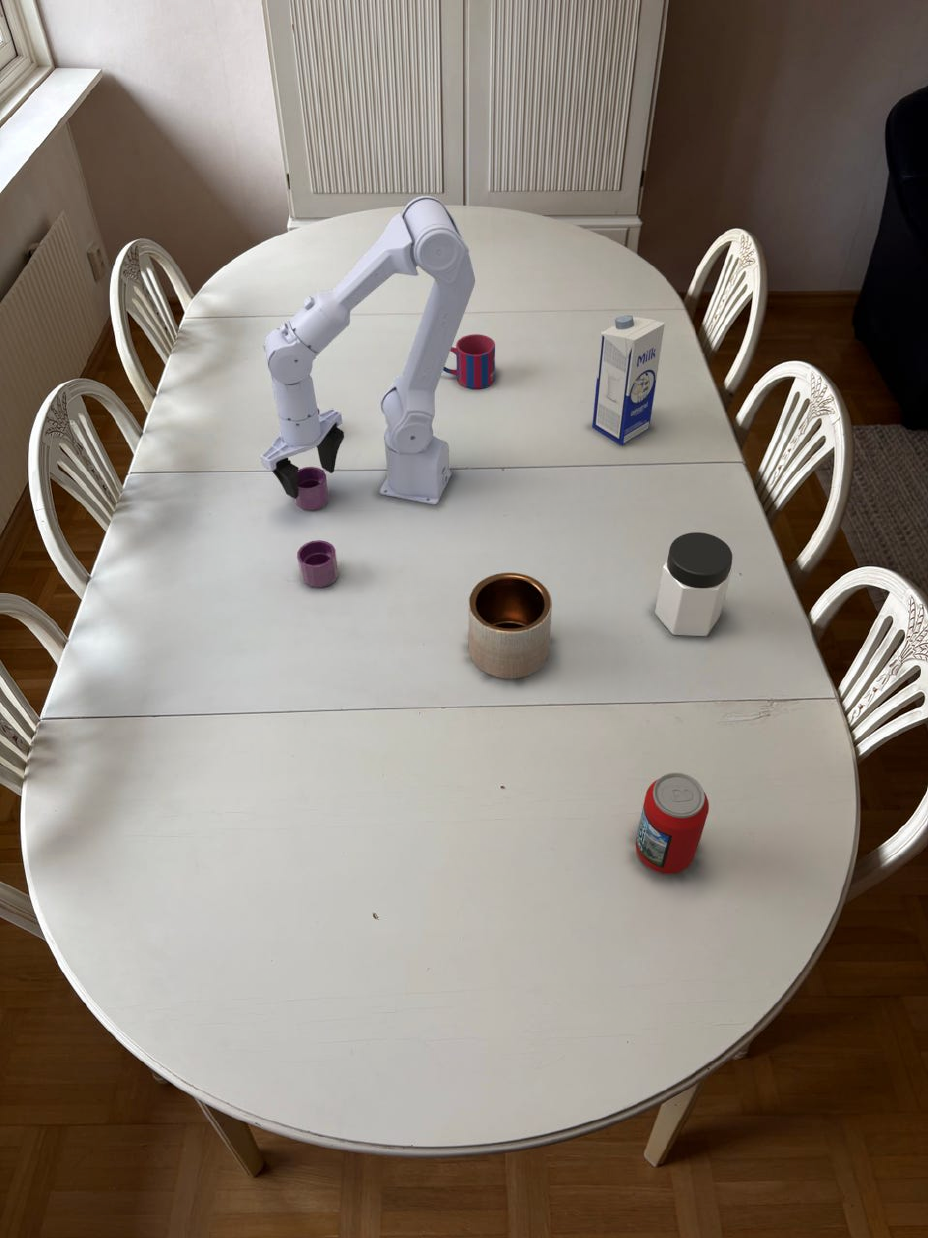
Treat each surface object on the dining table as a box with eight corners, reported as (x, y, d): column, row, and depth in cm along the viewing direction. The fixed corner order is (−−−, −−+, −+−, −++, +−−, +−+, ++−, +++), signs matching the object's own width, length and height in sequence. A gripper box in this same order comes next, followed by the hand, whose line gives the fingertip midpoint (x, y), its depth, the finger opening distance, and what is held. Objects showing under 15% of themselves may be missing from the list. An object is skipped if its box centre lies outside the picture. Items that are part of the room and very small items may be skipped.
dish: (334, 492, 157) (331, 470, 153) (321, 514, 153) (317, 492, 150) (303, 486, 158) (299, 464, 155) (289, 508, 155) (285, 486, 151)
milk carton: (620, 446, 163) (634, 339, 148) (591, 427, 167) (601, 321, 152) (650, 428, 166) (666, 321, 151) (620, 410, 170) (632, 304, 155)
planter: (456, 634, 136) (454, 586, 129) (527, 610, 139) (529, 561, 132) (488, 692, 130) (488, 644, 123) (563, 665, 132) (567, 617, 125)
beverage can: (629, 827, 116) (640, 769, 107) (686, 822, 116) (702, 764, 107) (641, 880, 111) (654, 824, 103) (700, 875, 112) (718, 819, 103)
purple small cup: (344, 566, 146) (341, 544, 142) (330, 592, 142) (326, 570, 139) (310, 559, 147) (306, 537, 144) (295, 584, 143) (291, 562, 140)
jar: (731, 626, 136) (748, 564, 128) (681, 647, 134) (694, 585, 125) (693, 584, 142) (707, 522, 133) (644, 603, 140) (655, 541, 131)
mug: (492, 390, 174) (493, 356, 169) (436, 387, 175) (434, 353, 170) (496, 368, 179) (496, 334, 174) (441, 365, 180) (439, 332, 175)
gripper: (314, 375, 148) (325, 448, 158) (240, 422, 141) (257, 495, 151) (347, 393, 145) (357, 466, 155) (274, 442, 138) (289, 515, 148)
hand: (310, 482), depth 153 cm, fingers open, 7 cm apart
